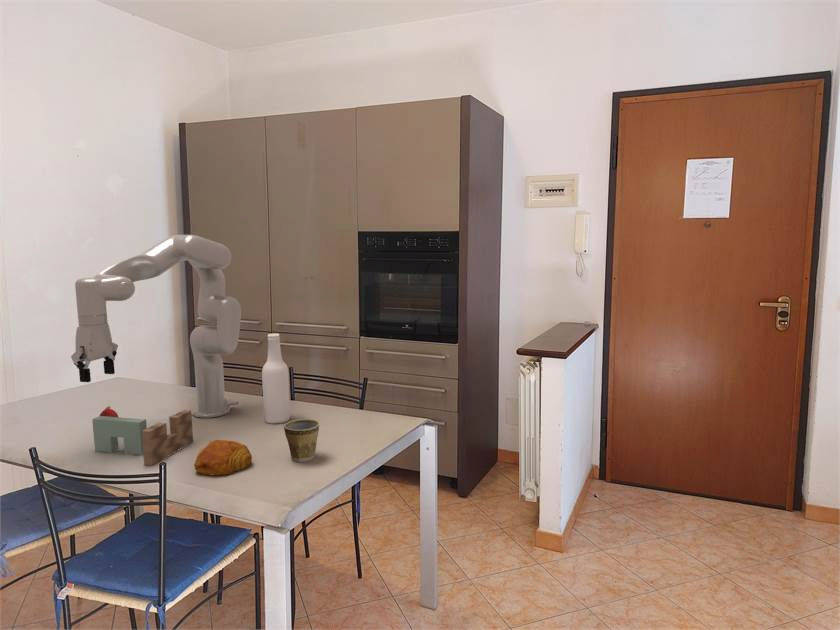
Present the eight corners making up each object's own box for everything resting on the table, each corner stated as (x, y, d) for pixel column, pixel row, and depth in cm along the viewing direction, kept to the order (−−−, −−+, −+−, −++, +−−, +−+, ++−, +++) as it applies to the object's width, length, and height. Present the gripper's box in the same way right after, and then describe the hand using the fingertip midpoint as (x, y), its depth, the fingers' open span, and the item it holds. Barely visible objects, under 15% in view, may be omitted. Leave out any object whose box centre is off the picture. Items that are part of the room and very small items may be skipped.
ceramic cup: (322, 462, 175) (321, 428, 173) (286, 466, 172) (285, 431, 171) (316, 446, 187) (315, 414, 186) (283, 450, 184) (281, 417, 183)
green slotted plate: (95, 451, 185) (92, 419, 183) (102, 447, 188) (99, 415, 186) (141, 455, 181) (139, 422, 180) (148, 451, 184) (146, 419, 182)
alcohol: (263, 417, 215) (259, 333, 211) (288, 415, 218) (285, 331, 213) (265, 425, 207) (261, 337, 203) (291, 422, 210) (288, 335, 205)
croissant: (218, 461, 182) (214, 435, 181) (261, 461, 176) (257, 434, 175) (182, 479, 169) (177, 450, 168) (227, 480, 162) (222, 450, 162)
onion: (111, 433, 201) (108, 409, 199) (95, 432, 202) (93, 408, 200) (122, 427, 206) (121, 404, 205) (107, 426, 207) (105, 403, 206)
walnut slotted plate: (186, 440, 193) (184, 409, 191) (193, 441, 192) (191, 410, 191) (144, 465, 174) (141, 430, 172) (152, 465, 173) (149, 431, 172)
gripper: (103, 315, 189) (107, 370, 192) (58, 324, 172) (64, 384, 175) (124, 316, 187) (128, 371, 190) (81, 325, 171) (86, 385, 173)
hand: (97, 377), depth 182 cm, fingers open, 9 cm apart
